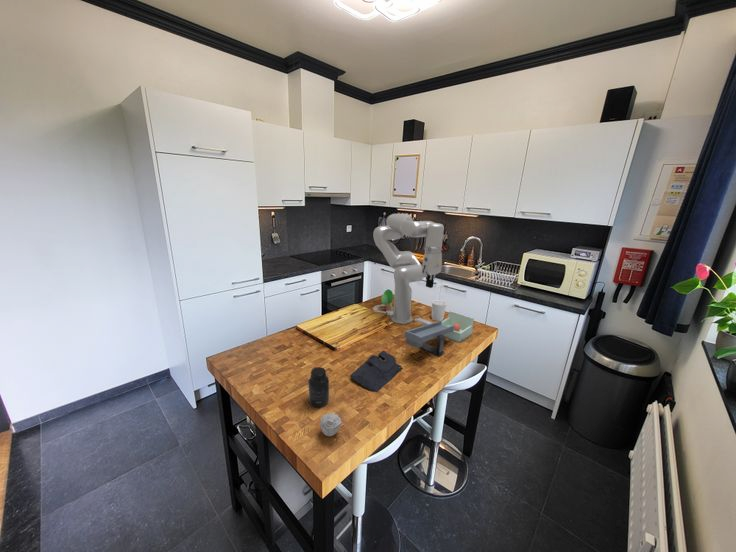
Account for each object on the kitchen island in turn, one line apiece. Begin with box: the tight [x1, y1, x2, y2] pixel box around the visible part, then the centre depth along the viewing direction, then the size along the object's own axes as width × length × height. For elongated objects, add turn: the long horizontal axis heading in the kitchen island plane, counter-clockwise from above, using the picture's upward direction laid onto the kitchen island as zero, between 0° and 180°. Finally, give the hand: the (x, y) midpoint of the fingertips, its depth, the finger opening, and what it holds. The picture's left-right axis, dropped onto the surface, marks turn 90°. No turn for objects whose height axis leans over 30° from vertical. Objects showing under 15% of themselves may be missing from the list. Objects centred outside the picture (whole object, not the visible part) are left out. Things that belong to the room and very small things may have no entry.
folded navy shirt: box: [350, 350, 403, 393], centre depth 115 cm, size 15×22×5 cm
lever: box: [403, 317, 455, 349], centre depth 134 cm, size 16×30×5 cm, turn 136°
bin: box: [441, 310, 475, 344], centre depth 148 cm, size 14×14×9 cm
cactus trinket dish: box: [372, 289, 394, 314], centre depth 178 cm, size 15×14×14 cm
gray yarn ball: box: [319, 413, 342, 437], centre depth 85 cm, size 6×7×7 cm
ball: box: [454, 324, 460, 331], centre depth 150 cm, size 4×4×4 cm
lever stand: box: [419, 335, 445, 358], centre depth 132 cm, size 13×5×9 cm, turn 46°
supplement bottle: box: [307, 366, 330, 408], centre depth 97 cm, size 7×7×12 cm
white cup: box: [431, 299, 447, 322], centre depth 166 cm, size 8×8×10 cm
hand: (429, 286), depth 140 cm, fingers closed
